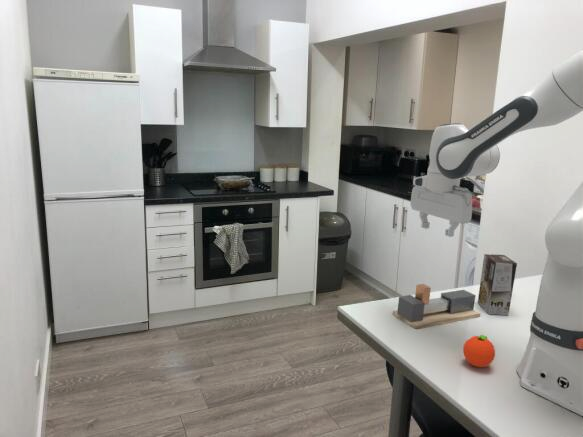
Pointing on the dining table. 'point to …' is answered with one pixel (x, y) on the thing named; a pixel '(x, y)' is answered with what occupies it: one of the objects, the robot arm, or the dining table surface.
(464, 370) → the dining table surface
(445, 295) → the sleeve
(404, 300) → the socket block
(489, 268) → the coffee box
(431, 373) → the dining table surface
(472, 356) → the clementine
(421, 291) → the bar
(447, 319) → the oak board
